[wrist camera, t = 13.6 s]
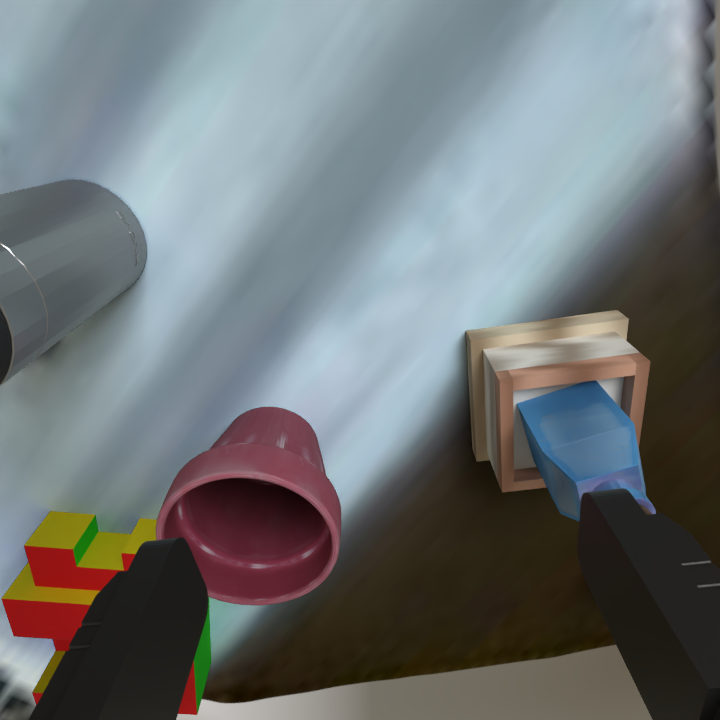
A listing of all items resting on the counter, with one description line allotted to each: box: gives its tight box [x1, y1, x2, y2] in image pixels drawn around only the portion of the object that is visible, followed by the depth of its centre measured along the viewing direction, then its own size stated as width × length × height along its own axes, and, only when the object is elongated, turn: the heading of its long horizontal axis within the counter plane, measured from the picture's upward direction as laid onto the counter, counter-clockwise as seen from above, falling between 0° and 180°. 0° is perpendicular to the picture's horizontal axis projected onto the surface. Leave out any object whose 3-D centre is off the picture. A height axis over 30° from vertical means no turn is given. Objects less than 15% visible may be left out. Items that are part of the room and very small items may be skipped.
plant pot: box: [156, 407, 341, 605], centre depth 43 cm, size 14×14×13 cm
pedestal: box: [466, 310, 650, 492], centre depth 42 cm, size 13×13×8 cm
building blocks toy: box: [2, 511, 211, 715], centre depth 50 cm, size 19×25×18 cm
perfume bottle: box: [517, 380, 656, 521], centre depth 35 cm, size 6×6×12 cm
